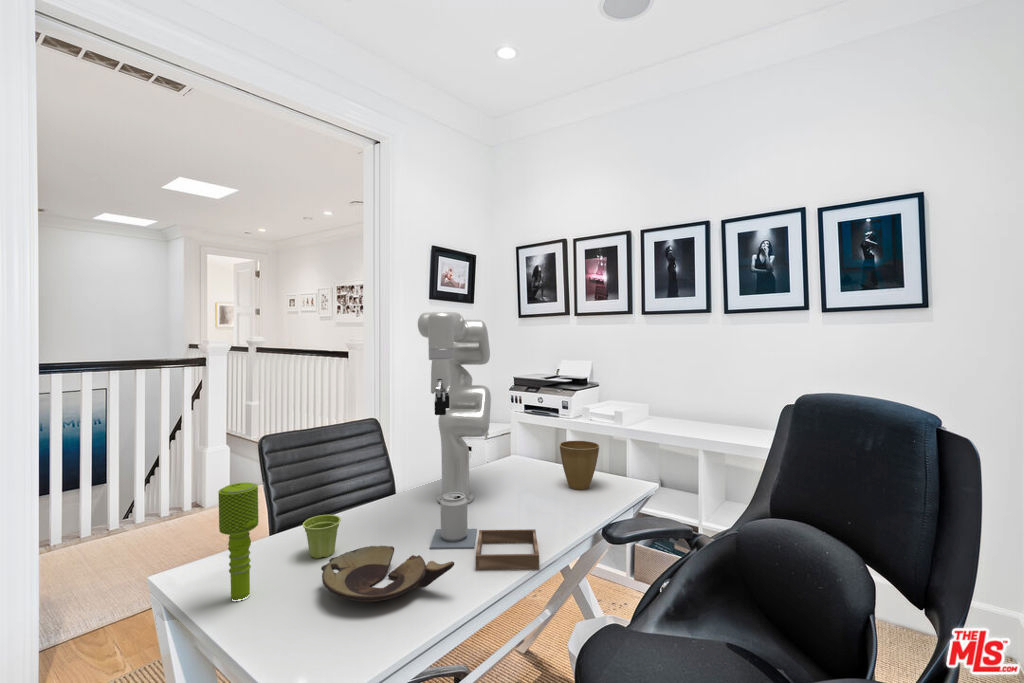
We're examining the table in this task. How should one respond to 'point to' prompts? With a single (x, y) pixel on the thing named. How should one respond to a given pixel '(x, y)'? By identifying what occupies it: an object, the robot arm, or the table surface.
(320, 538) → the plant pot
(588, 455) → the plant pot
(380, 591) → the broken ceramic bowl
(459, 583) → the table surface
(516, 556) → the box frame
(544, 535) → the table surface
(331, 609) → the table surface
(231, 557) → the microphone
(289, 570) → the table surface
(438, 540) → the mat
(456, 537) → the can
